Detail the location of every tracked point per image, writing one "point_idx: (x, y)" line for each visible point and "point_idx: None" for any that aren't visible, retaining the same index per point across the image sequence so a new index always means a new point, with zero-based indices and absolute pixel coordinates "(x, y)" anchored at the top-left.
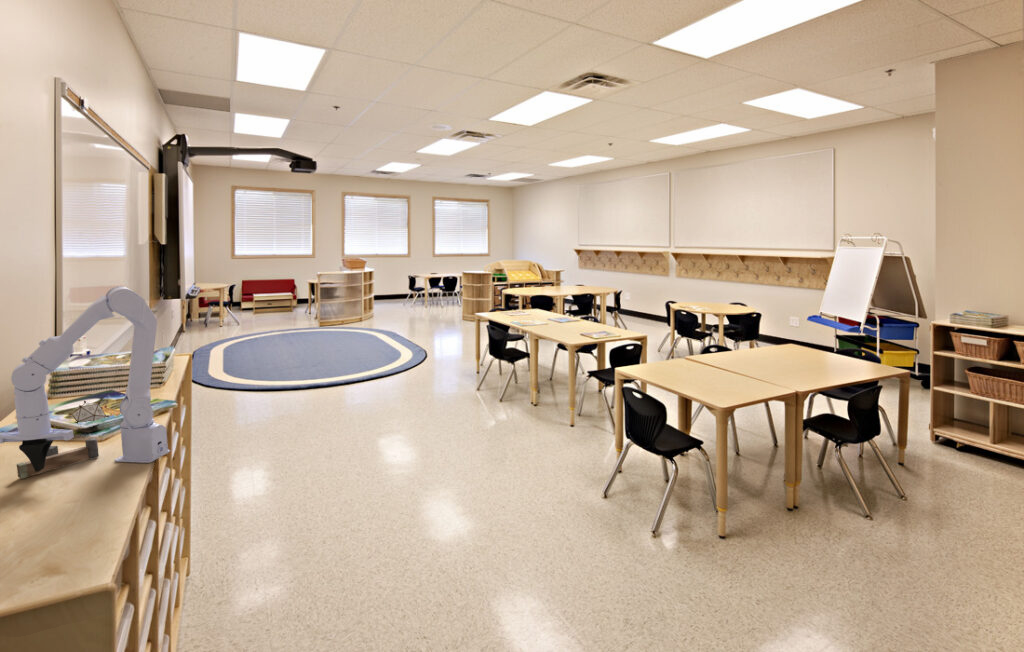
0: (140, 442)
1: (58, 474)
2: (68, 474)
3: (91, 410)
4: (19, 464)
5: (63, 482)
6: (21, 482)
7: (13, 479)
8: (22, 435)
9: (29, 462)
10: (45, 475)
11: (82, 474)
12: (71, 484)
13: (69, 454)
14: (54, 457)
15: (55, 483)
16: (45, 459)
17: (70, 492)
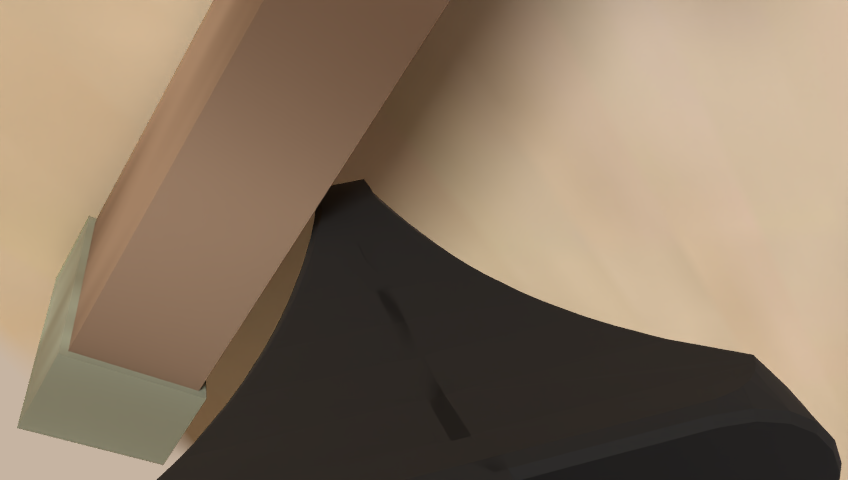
0: None
1: (523, 104)
2: (651, 98)
3: None
4: (97, 432)
5: (703, 300)
6: (235, 355)
7: (23, 297)
8: None
9: (175, 321)
10: (367, 146)
11: (815, 90)
12: (796, 328)
13: None
14: (440, 14)
15: (637, 329)
16: (350, 150)
17: (842, 445)
